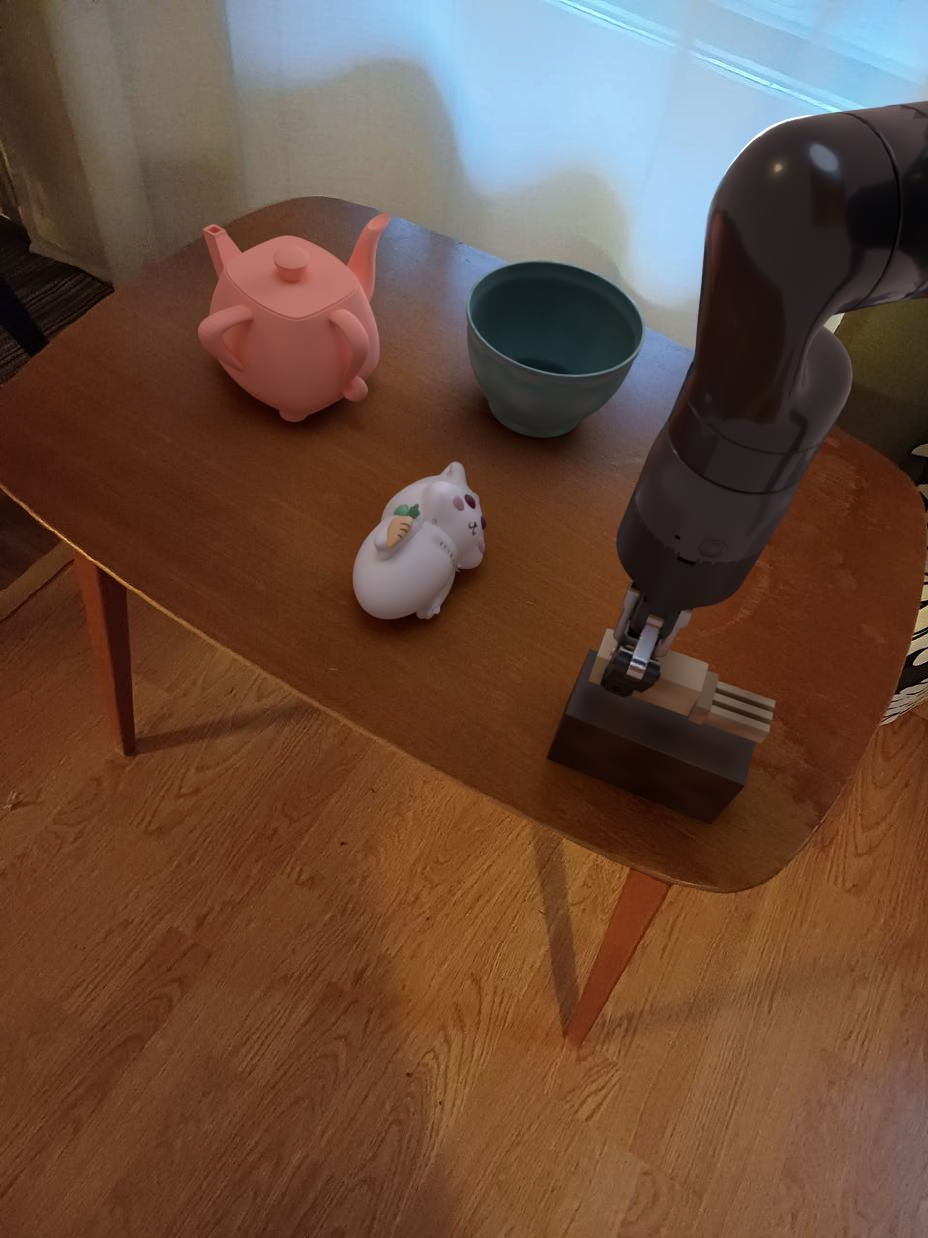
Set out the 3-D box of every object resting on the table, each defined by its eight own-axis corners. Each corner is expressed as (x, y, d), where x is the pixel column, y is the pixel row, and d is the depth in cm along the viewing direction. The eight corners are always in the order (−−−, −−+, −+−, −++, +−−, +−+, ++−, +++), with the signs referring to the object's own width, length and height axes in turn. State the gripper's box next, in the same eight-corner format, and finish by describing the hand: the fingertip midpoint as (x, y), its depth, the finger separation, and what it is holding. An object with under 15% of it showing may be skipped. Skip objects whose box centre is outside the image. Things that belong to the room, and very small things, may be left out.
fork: (587, 684, 63) (595, 659, 60) (599, 650, 64) (608, 624, 62) (760, 746, 61) (777, 723, 58) (768, 710, 63) (785, 685, 60)
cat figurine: (377, 572, 66) (479, 433, 72) (302, 560, 71) (404, 430, 77) (433, 655, 72) (523, 520, 79) (361, 639, 77) (451, 512, 84)
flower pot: (478, 333, 96) (493, 240, 87) (628, 376, 95) (659, 286, 86) (433, 436, 87) (444, 344, 78) (598, 485, 86) (628, 397, 77)
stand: (727, 757, 72) (761, 714, 66) (711, 824, 68) (745, 785, 62) (569, 694, 73) (589, 647, 67) (546, 757, 70) (565, 713, 64)
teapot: (214, 319, 93) (199, 193, 82) (383, 323, 96) (390, 202, 85) (207, 435, 84) (189, 311, 73) (393, 436, 87) (403, 318, 76)
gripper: (669, 396, 53) (597, 577, 67) (602, 571, 45) (537, 734, 59) (796, 441, 52) (696, 614, 66) (750, 627, 44) (648, 778, 58)
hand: (621, 670), depth 63 cm, fingers closed on fork, 2 cm apart
